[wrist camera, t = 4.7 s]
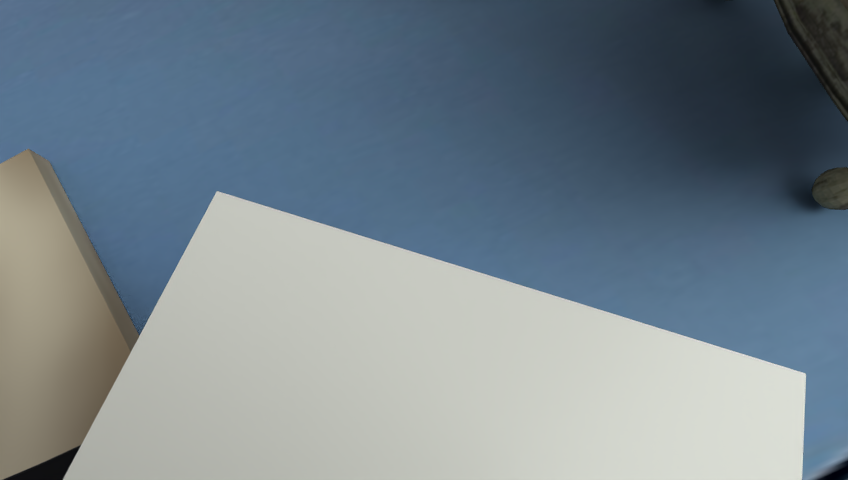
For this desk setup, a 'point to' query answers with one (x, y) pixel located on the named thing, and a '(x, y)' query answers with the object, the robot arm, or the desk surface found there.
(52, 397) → the post stand
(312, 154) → the desk surface
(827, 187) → the tabletop clock
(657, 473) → the tall white pillar
